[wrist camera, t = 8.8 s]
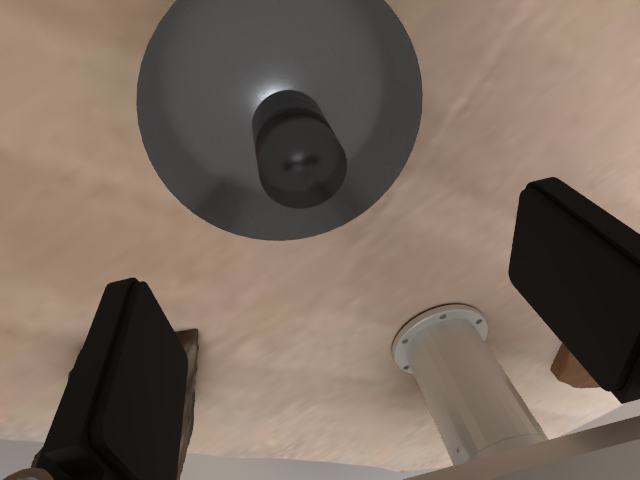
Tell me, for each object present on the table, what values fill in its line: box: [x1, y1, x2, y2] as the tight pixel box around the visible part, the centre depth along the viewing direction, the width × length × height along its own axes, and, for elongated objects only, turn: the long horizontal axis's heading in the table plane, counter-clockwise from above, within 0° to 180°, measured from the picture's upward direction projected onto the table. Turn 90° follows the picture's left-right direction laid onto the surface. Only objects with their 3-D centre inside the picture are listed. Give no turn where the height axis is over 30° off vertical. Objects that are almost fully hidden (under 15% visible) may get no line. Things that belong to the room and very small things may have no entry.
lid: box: [137, 0, 423, 241], centre depth 16 cm, size 12×12×5 cm
